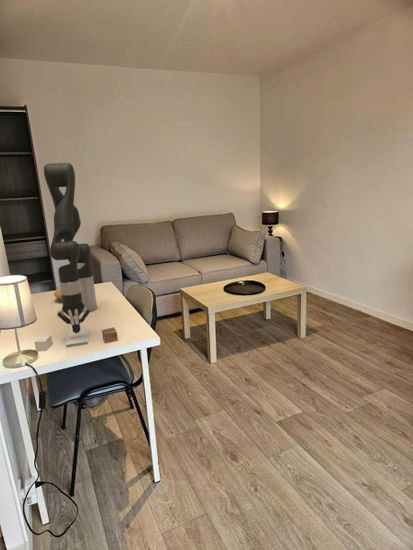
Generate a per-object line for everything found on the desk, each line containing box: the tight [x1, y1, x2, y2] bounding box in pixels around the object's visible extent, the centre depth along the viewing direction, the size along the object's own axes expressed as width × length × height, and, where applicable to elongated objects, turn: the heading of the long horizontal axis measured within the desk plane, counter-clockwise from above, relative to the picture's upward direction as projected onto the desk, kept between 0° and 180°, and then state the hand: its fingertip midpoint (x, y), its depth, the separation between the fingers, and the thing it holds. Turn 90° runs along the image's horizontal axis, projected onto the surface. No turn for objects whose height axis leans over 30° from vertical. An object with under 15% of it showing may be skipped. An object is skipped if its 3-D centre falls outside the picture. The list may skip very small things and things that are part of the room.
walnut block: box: [101, 326, 119, 344], centre depth 146 cm, size 5×5×4 cm
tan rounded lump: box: [53, 287, 62, 301], centre depth 200 cm, size 8×22×15 cm
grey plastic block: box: [34, 334, 54, 352], centre depth 142 cm, size 6×4×4 cm, turn 0°
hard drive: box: [65, 329, 90, 348], centre depth 148 cm, size 2×8×12 cm
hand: (76, 332), depth 147 cm, fingers closed
